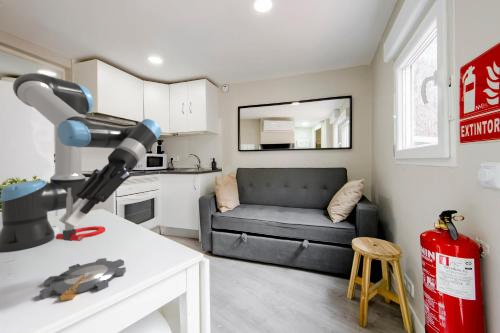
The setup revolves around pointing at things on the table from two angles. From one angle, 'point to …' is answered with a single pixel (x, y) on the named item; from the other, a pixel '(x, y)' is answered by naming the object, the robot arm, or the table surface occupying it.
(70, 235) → the tow hook
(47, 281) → the sprocket plate
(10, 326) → the table surface
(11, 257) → the table surface
